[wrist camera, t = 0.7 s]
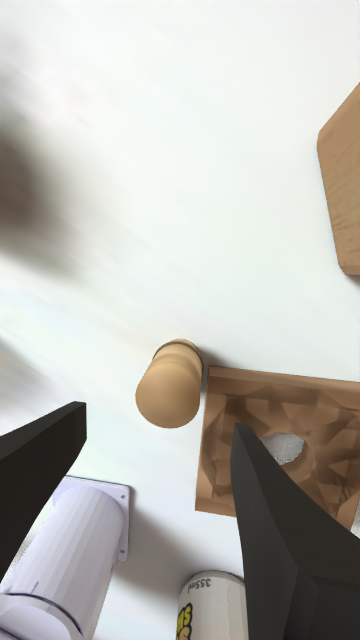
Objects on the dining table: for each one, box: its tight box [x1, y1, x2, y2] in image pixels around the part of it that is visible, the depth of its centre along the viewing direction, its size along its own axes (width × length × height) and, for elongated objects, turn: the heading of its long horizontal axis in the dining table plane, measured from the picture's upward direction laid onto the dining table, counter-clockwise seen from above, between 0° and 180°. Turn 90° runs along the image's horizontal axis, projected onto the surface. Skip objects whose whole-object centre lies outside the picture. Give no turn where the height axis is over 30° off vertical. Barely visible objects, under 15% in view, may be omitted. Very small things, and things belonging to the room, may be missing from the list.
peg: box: [136, 339, 203, 428], centre depth 18 cm, size 4×4×7 cm
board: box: [195, 366, 360, 531], centre depth 21 cm, size 13×13×2 cm
